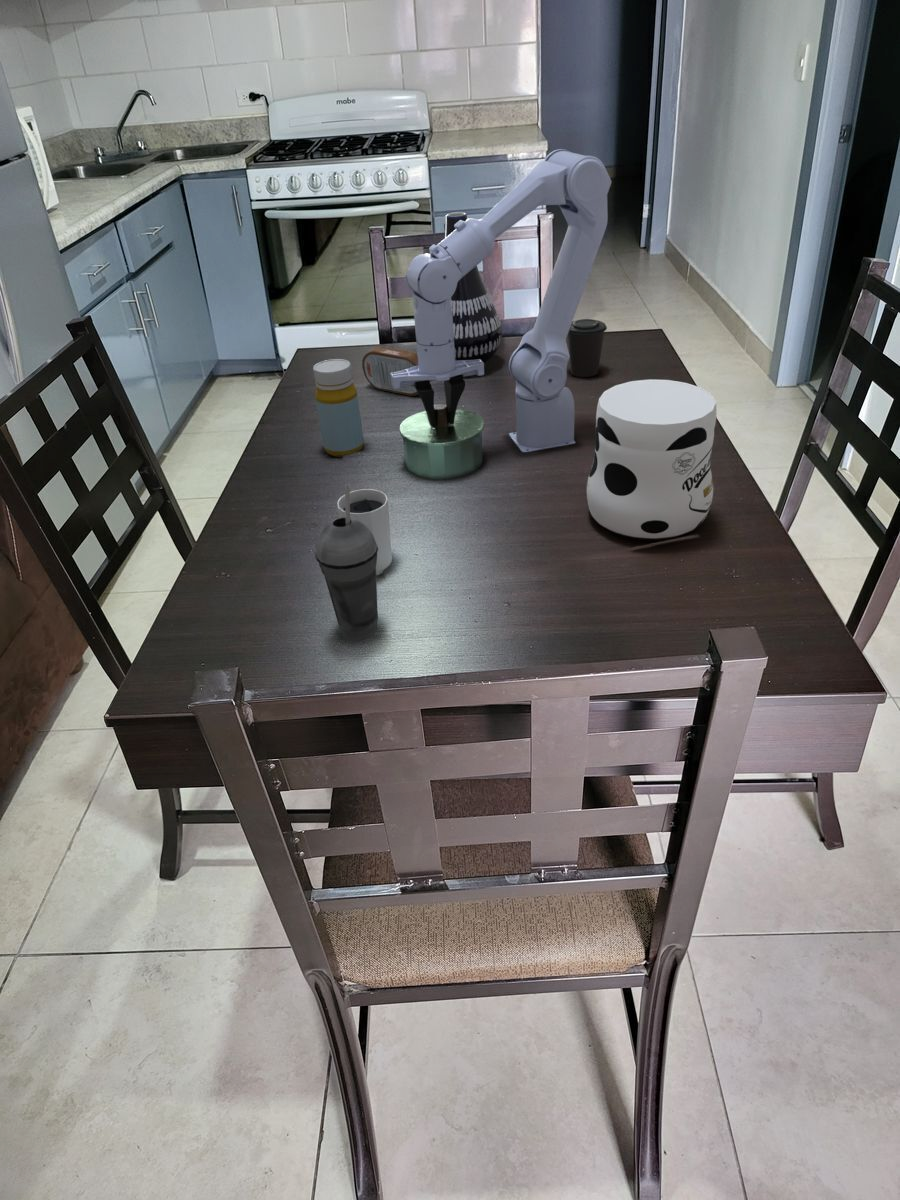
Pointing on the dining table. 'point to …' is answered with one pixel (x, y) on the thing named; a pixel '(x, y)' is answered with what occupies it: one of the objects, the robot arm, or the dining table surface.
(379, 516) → the white cylindrical cup
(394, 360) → the tin
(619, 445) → the milk container
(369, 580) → the beverage cup
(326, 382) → the bottle
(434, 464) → the jar
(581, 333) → the coffee cup
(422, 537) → the dining table surface
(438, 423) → the lid
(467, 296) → the vase
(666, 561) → the dining table surface
